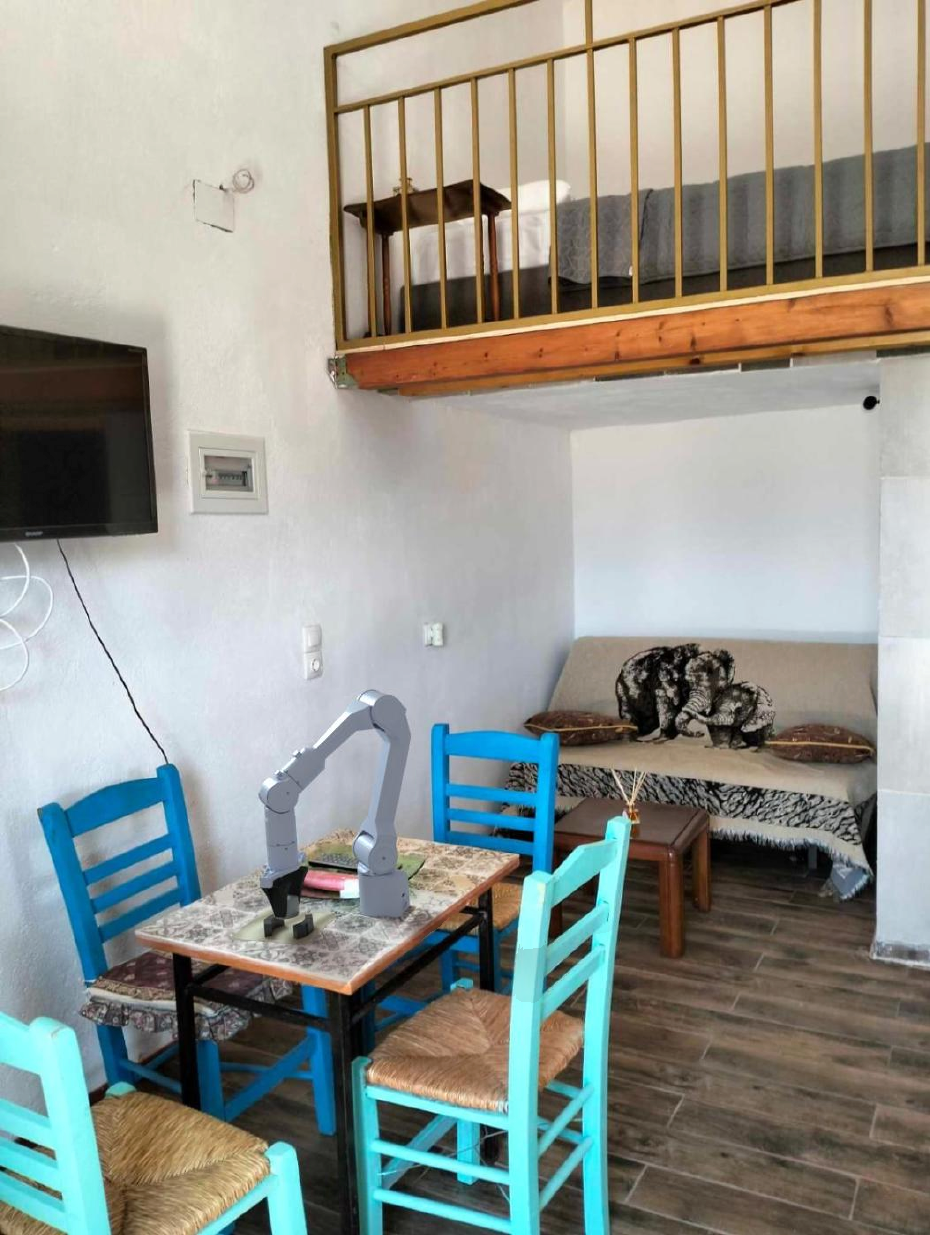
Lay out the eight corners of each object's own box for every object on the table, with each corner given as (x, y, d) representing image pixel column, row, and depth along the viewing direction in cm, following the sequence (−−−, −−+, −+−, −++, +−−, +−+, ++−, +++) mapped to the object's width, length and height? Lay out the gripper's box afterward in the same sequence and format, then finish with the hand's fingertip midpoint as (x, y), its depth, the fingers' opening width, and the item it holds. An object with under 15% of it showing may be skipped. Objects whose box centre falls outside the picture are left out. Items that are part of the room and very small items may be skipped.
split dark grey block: (318, 926, 190) (317, 914, 190) (303, 940, 184) (302, 927, 184) (275, 922, 193) (274, 910, 193) (259, 936, 187) (258, 924, 187)
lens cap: (303, 910, 190) (302, 893, 190) (292, 920, 185) (291, 903, 185) (280, 909, 191) (279, 893, 191) (269, 919, 187) (268, 902, 186)
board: (338, 918, 195) (338, 914, 195) (305, 948, 182) (305, 944, 182) (266, 913, 200) (265, 909, 200) (229, 942, 187) (228, 938, 187)
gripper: (281, 828, 195) (286, 895, 196) (243, 853, 181) (249, 924, 182) (313, 829, 193) (318, 897, 194) (277, 855, 179) (283, 927, 180)
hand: (287, 911), depth 188 cm, fingers closed on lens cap, 5 cm apart
